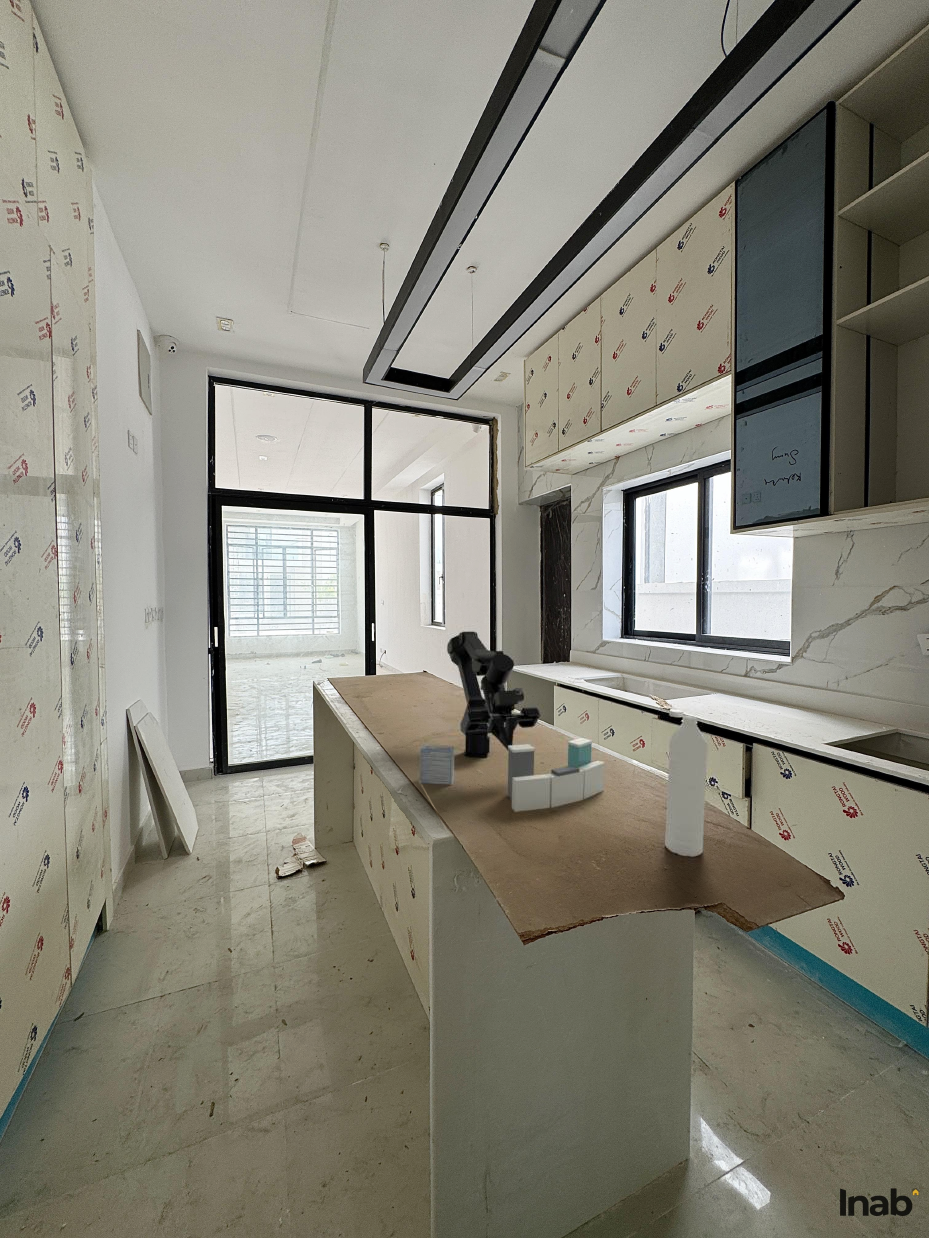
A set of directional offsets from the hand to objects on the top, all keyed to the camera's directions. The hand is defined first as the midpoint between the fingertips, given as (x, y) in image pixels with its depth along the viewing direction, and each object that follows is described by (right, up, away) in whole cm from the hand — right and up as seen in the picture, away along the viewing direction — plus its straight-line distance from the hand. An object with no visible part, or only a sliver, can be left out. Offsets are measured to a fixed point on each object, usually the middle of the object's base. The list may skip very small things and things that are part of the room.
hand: (510, 749), depth 125 cm
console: (+11, -10, -7) cm, 16 cm away
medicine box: (-18, -9, +3) cm, 20 cm away
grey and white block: (+2, -9, -6) cm, 11 cm away
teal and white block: (+16, -9, -1) cm, 19 cm away
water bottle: (+30, -12, -26) cm, 41 cm away
